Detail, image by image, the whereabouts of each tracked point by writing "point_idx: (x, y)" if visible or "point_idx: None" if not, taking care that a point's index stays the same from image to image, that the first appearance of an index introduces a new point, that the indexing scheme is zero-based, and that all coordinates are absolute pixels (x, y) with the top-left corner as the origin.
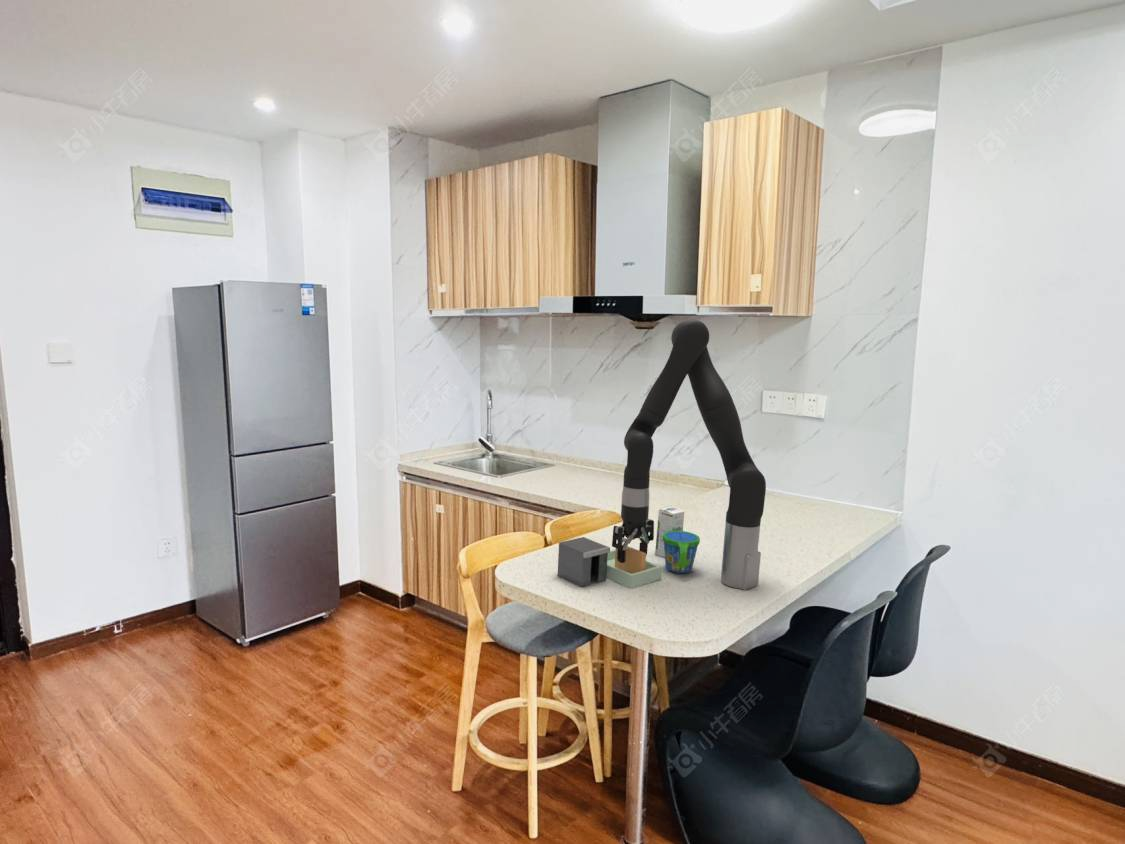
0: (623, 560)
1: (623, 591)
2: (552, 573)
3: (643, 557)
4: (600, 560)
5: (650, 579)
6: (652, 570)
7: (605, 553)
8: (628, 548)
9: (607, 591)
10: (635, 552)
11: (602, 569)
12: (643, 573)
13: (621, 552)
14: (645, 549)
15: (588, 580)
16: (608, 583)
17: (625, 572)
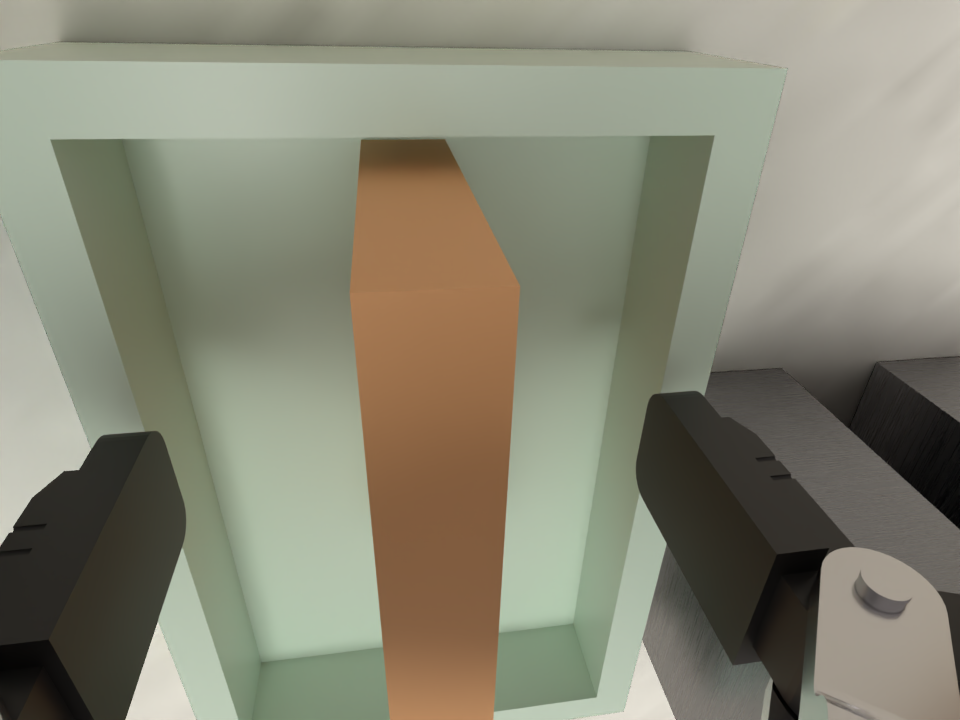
0: (711, 413)
1: (827, 42)
2: None
3: (439, 252)
4: (941, 530)
5: (310, 48)
6: (250, 63)
7: None
8: (474, 644)
9: (929, 156)
10: (501, 470)
11: (812, 447)
12: (503, 62)
13: (834, 531)
14: (90, 536)
15: (936, 385)
16: (733, 307)
17: (727, 235)
